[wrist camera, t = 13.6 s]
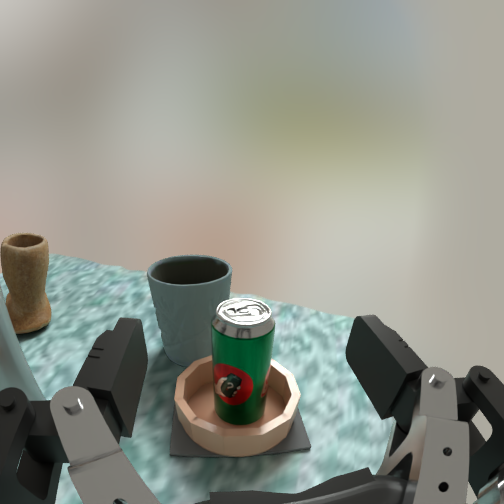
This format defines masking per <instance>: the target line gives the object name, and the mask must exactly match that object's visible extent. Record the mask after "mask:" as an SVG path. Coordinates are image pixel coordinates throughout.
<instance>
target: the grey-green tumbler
mask: <svg viewBox="0 0 504 504" xmlns="http://www.w3.org/2000/svg"><path fill="white" fill-rule="evenodd" d="M231 275H232V267H231V266H230V264H229V263H227V262H226V261H224V260H222V259H219V258H216V257H212V256H205V255H182V256H174V257H169V258H165V259H163V260H160V261H157V262H155V263H154V264H152V265H151V266H150V267H149V268H148V271H147V277H148V282H149V286H150V291H151V295H152V299H153V304H154V307H155V308H156V317H157V321H158V326H159V328H160V329H161V338H162V342H163V346H164V350H165V353H166V355H167V356H168V358H169V359H170V360H171V361H173V362H174V363H176V364H178V365H181V366H185V367H189V366H190V365H191V364H192V363H193V362H194V361H196V360H199V359H202V358H205V357H208V356H211V355H212V344H211V320H212V317H213V316H214V315H215V313H216V312H215V311H216V308H217V306H218V305H219V304H220V303H222V302H224V301H226V300H229V295H230V285H231Z"/></svg>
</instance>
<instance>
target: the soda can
mask: <svg viewBox="0 0 504 504" xmlns="http://www.w3.org/2000/svg"><path fill="white" fill-rule="evenodd" d="M215 312H216V313H215V315H214V316H213V317H212V320H211V344H212V371H213V392H214V408H215V412H216V414H217V415H218V416H219V418H221V419H222V420H223V421H225V422H227V423H230V424H233V425H248V424H251V423H254V422H256V421H258V420H259V419H260V418H261V417H262V416H263V414H264V412H265V406H266V399H267V391H268V383H269V375H270V367H271V358H272V350H273V341H274V332H275V321H274V319H273V318H272V316H271V315H272V312H271V309H270V308H269V306H267V305H266V304H265V303H263V302H260V301H258V300H254V299H247V298H236V299H230V300H226V301H224V302H222V303H220V304H219V305H218V306H217V308H216V311H215Z"/></svg>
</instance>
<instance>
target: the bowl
mask: <svg viewBox="0 0 504 504" xmlns="http://www.w3.org/2000/svg"><path fill="white" fill-rule="evenodd" d="M300 396H301V395H300V392H299V389H298V386H297V384H296V381H295V378H294V376H293V374H292V373H291V372H289V371H288V370H287V369H285V368H284V367H283V366H281V365H280V364H279V363H277V362H276V361H275V360H273V359H271V367H270V375H269V383H268V391H267V399H266V406H265V412H264V414H263V416H262V417H261V418H260V419H259V420H258V421H256V422H254V423H251V424H248V425H233V424H230V423H227V422H225V421H223V420H222V419H221V418H219V416H218V415H217V414H216V412H215V408H214V392H213V371H212V355H211V356H208V357H205V358H202V359H199V360H196V361H194V362H193V363H192V364H191V365H190V366H189V367H188V368H186V369H185V370H184V371H183V372H182V373H181V374H180V375H179V376H178V377H177V383H176V391H175V399H174V400H175V405H176V409H177V414H178V419H179V421H180V422H181V424H182V425H183V428H184V430H185V432H186V433H187V435H188V436H189V437H190V438H191V439H192V440H193V441H194V442H195V443H196V444H198V445H199V446H201V447H202V448H204V449H206V450H208V451H210V452H213V453H215V454H219V455H223V456H230V457H246V456H253V455H257V454H260V453H263V452H266V451H268V450H270V449H272V448H273V447H275V446H276V445H278V444H279V443H280V442H281V441H282V440H283V439H284V438H286V436H287V434H288V432H289V431H290V429H291V426H292V423H293V420H294V418H295V416H296V412H297V408H298V404H299V400H300Z"/></svg>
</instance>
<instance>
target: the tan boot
mask: <svg viewBox="0 0 504 504" xmlns="http://www.w3.org/2000/svg"><path fill="white" fill-rule="evenodd" d="M48 252H49V251H48V242H47V240H46V239H45V238H44V237H43V236H41V235H36V234H32V233H18V234H12V235H10V236H8V237H6V238H5V239H4V240H3V242H2V244H1V266H2V273H3V277H4V280H5V282H6V285H7V287H8V289H9V293H8V294H7V298H6V307H7V310H8V313H9V316H10V319H11V322H12V325H13V328H14V331H15V333H16V334H22V333H29V332H32V331H36V330H39V329H40V328H42V327H44V326H46V325H48V324H49V322H50V320H51V307H50V304H49V301H48V298H47V295H46V293H45V284H46V277H47V271H48V265H49V253H48Z"/></svg>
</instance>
